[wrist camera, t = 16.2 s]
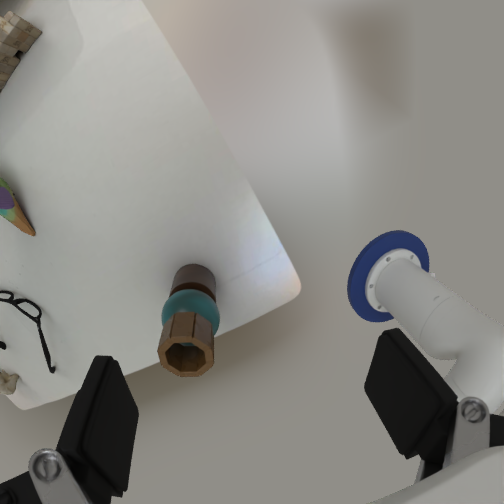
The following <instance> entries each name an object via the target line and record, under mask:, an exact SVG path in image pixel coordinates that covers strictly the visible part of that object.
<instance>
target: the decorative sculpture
mask: <svg viewBox="0 0 504 504" xmlns="http://www.w3.org/2000/svg"><path fill="white" fill-rule="evenodd" d="M13 195H15V194H14V193H12V190H11V189H10V187H9V186H8V185H7V183H6V182H5V181H4V180H3V179H2V178H1V177H0V215H1V216H3V217H4V218H6V219H7V220H8V221H10V222H11V223H12V224H14V225H15V226H16V227H17V228H19V229H20V230H21V231H23V232H25V233H27V234H29V235H31V236H35V231H34V230H33V228H32V227H31V226H30V224H29V223H28V221H27V219H26V218H25V216H24V214H23V212H22V210H21V209H20V207H19V205H18V203H17V201H16V200H15V198H14V196H13Z"/></svg>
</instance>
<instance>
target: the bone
mask: <svg viewBox="0 0 504 504" xmlns="http://www.w3.org/2000/svg"><path fill="white" fill-rule="evenodd" d="M18 377H19V376H18V375H17V374H14V375H12V376H10V375H8V374H7V373H6V372H5V371H4V370H3V369H2V373H1V372H0V394H6V395H9V394H10V395H11V394H13V393H14V392H15V389H16V382H17V379H18Z"/></svg>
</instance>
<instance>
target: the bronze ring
mask: <svg viewBox="0 0 504 504" xmlns="http://www.w3.org/2000/svg"><path fill="white" fill-rule="evenodd" d="M180 343H192V344H194V345H195V346H183V345H181V344H180ZM157 352H158V355H159V359H160V363H161V365H163V367H164V368H166V369H167V370H169V371H170V372H172V373H174V374H175V375H177V376H179V375H180V377H197V376H199V375H202V374H204V373H205V372H206V371H207V370H209V369H210V368H211V367H212V366H213V364H214V335H213V327H212V324H211V322H209V321H208V320H207V319H205V318H204V317H202V316H201V315H200V314H198V313H195V312H176V314H175V313H174V314H173V315H172V316H171V317H170V318H169V319H168V321H167V322H166V323H165V324H164V326H163V330H162V334H161V338H160V342H159V346H158V350H157Z"/></svg>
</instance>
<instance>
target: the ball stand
mask: <svg viewBox="0 0 504 504" xmlns="http://www.w3.org/2000/svg"><path fill="white" fill-rule="evenodd" d="M176 312H195V313H198V314H200V315H201V316H202V317H204V318H205V319H207V320H208V321H209V322H211V324H212V327H213V335H215V334H216V332H217V330H218V327H219V323H220V315H219V310H218V307H217V305H216V286H215V278H214V276H213V274H212V272H211V271H210V270H209V269H207V268H206V267H204V266H202V265H198V264H189V265H186V266H184V267H182V268H180V269H179V270H178V271H177V273H176V275H175V277H174V281H173V284H172V288H171V292H170V296H169V299H168V300H167V301H166V303H165V305H164V307H163V310H162V325H163V326H164V324H165V323H166V322H167V321H168V319H169V318H170V317H171V316H172V315H173V314H174V313H175V314H176ZM180 344H181V345H183V346H195V345H194V344H192V343H180Z"/></svg>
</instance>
